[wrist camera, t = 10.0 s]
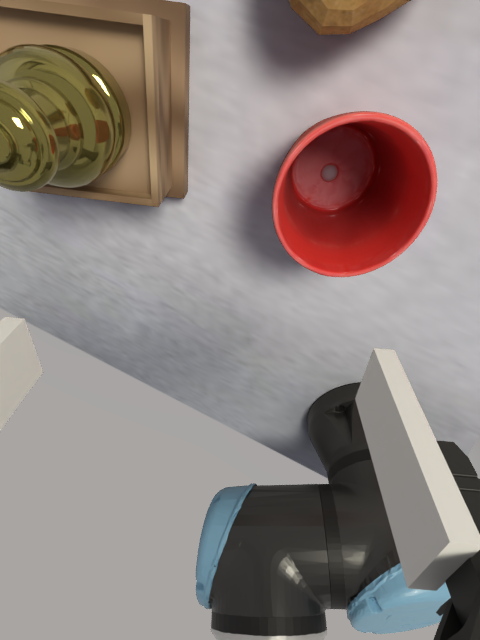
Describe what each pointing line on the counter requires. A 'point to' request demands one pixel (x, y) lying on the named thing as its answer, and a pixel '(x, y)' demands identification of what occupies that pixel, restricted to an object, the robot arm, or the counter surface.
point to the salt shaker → (58, 118)
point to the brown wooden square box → (124, 83)
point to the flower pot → (353, 193)
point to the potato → (343, 13)
